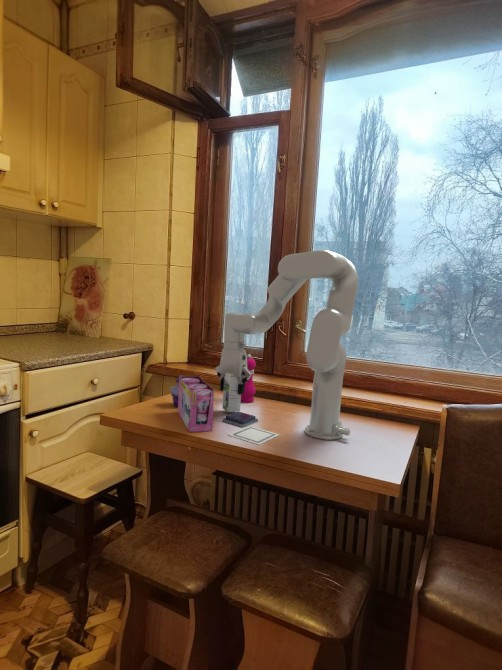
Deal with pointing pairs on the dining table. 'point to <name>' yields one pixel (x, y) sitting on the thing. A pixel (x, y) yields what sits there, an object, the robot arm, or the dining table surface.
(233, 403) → the syrup box
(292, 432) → the dining table surface
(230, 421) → the ink pad
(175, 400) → the potion bottle
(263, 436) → the marked card
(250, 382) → the pepper mill
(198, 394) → the gum box
